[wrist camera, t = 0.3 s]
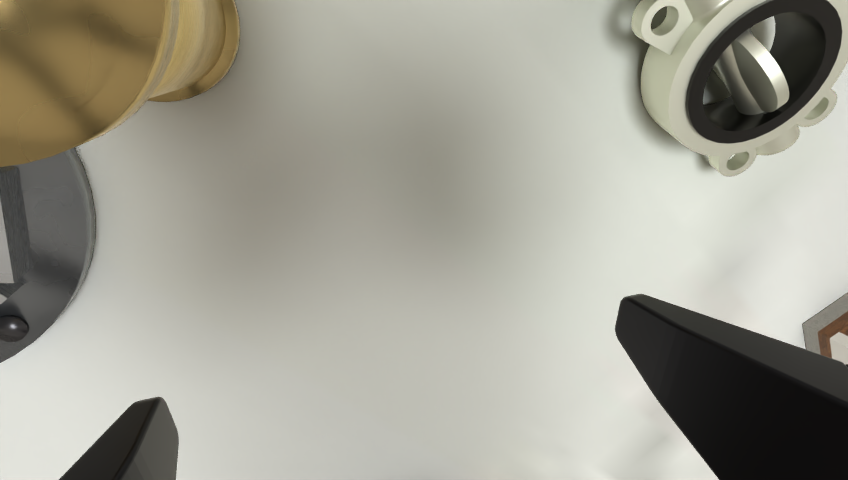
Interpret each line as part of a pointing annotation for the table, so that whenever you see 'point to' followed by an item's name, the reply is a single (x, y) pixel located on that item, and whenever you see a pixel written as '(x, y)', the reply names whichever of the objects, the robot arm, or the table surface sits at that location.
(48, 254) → the flange
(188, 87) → the gold flared cylinder
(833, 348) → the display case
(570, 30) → the table surface
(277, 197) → the table surface
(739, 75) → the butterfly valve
